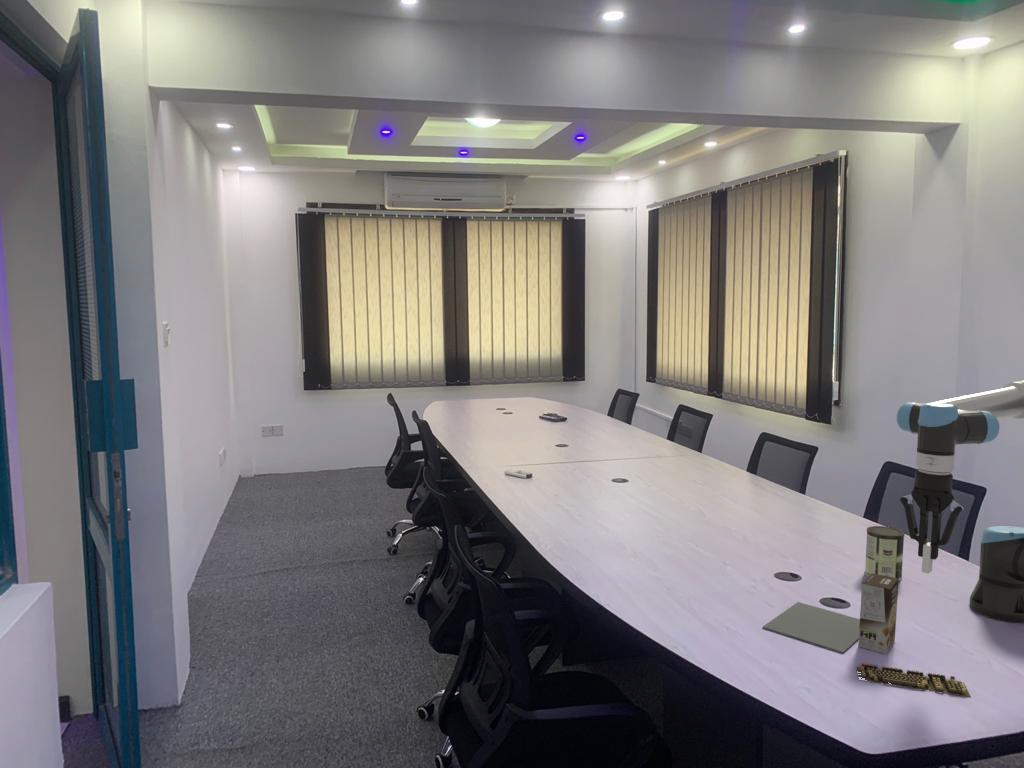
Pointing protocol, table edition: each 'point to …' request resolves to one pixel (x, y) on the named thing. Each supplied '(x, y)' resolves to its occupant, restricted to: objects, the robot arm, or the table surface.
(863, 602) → the coffee box
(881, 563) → the coffee can
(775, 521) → the table surface
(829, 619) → the topple mat
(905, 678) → the keyboard
